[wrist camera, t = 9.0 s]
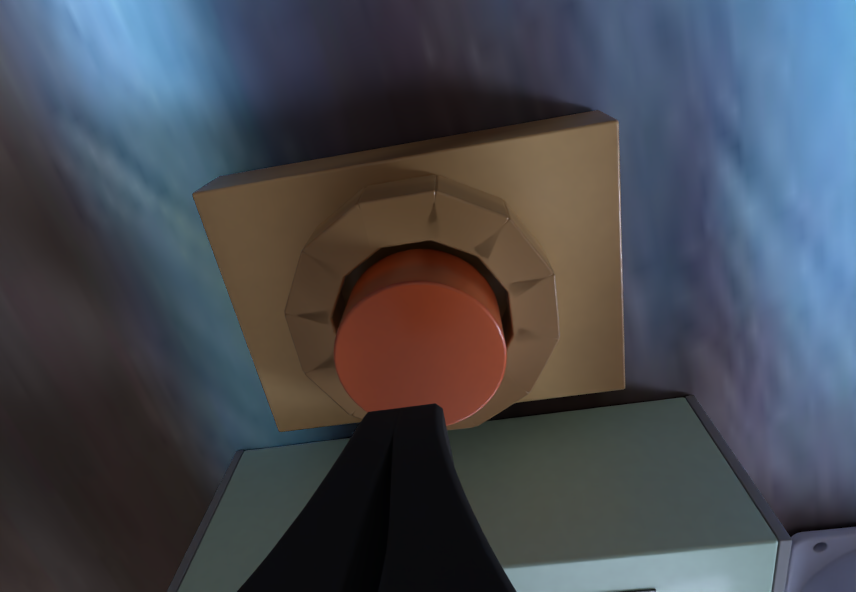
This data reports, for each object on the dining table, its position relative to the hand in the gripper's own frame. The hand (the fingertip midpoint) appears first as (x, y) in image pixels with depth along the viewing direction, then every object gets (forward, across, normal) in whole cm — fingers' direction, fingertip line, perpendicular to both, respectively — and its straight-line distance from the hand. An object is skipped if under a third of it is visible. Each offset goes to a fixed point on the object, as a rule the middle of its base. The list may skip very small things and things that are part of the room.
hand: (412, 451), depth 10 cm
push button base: (+8, 0, 0) cm, 8 cm away
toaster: (+8, 0, +11) cm, 14 cm away
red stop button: (+5, 0, 0) cm, 5 cm away
